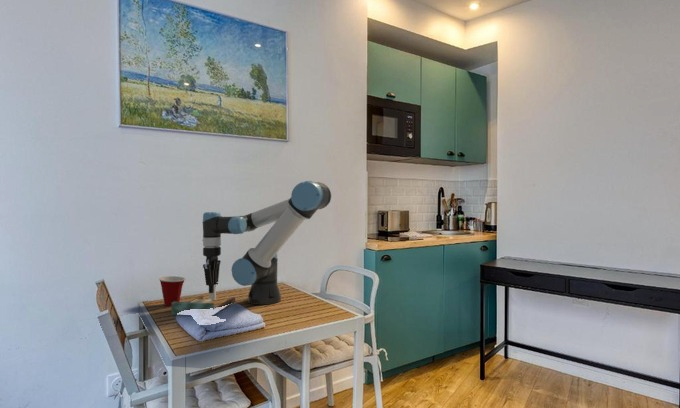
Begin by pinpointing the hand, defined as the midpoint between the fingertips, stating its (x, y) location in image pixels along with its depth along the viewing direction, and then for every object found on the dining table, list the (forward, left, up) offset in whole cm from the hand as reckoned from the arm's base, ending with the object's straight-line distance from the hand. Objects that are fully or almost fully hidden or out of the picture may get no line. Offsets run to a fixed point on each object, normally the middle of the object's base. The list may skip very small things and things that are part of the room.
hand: (212, 299), depth 176 cm
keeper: (0, +11, -2) cm, 11 cm away
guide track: (0, +5, -2) cm, 5 cm away
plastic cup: (+17, +3, -2) cm, 18 cm away
